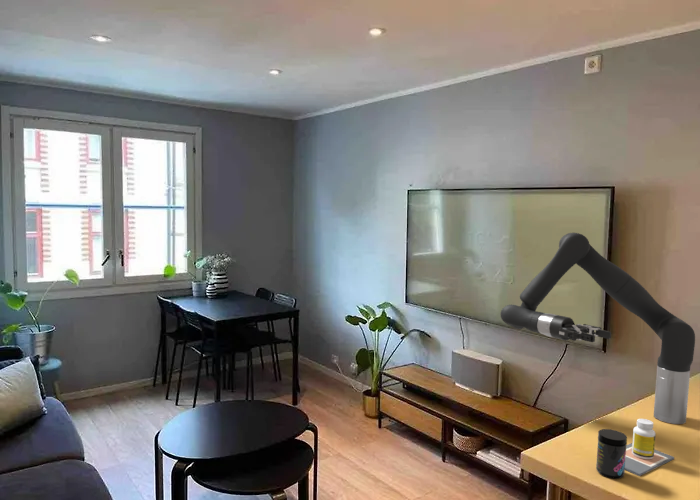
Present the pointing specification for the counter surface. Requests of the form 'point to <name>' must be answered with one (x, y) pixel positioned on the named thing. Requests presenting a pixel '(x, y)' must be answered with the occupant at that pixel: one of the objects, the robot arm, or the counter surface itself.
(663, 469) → the counter surface
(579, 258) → the robot arm
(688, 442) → the counter surface
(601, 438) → the supplement container
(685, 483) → the counter surface
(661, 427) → the counter surface
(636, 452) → the supplement bottle
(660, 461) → the picture board
